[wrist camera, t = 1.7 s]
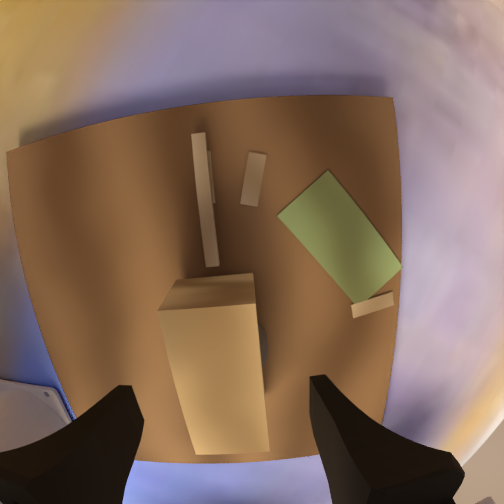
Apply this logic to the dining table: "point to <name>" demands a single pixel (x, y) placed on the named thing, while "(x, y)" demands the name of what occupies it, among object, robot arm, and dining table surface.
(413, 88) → the dining table surface
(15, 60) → the dining table surface
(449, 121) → the dining table surface
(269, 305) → the brown flat square board
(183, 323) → the peg key
